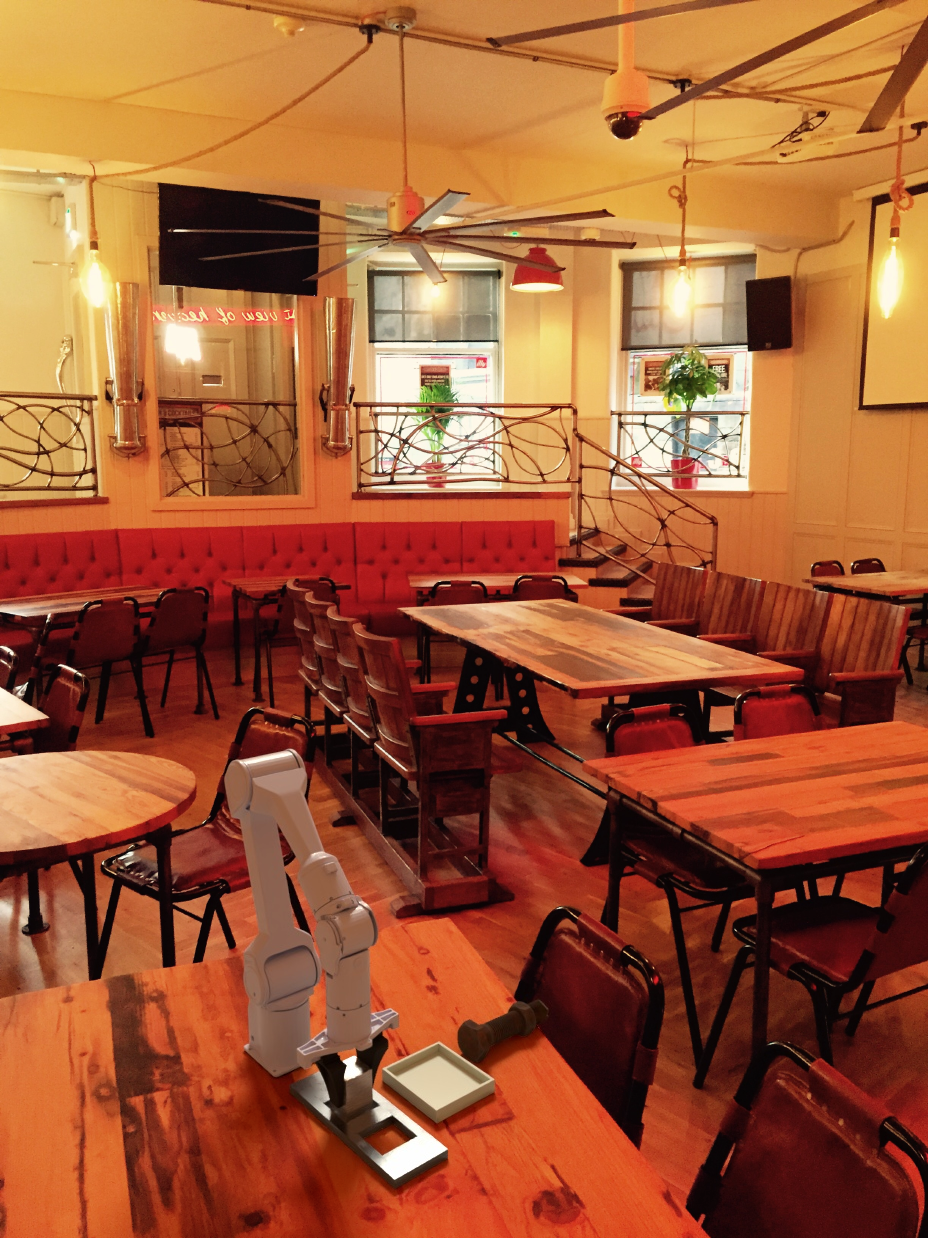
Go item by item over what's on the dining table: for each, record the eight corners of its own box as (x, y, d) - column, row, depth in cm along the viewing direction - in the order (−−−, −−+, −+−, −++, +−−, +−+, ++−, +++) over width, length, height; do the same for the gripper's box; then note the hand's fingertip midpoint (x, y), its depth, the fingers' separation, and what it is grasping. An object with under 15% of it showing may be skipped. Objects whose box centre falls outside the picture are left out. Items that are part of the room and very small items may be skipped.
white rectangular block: (330, 1110, 128) (329, 1067, 127) (355, 1097, 130) (354, 1055, 129) (347, 1125, 125) (345, 1081, 124) (373, 1112, 127) (371, 1069, 126)
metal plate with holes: (289, 1093, 132) (289, 1085, 132) (340, 1070, 137) (339, 1062, 137) (394, 1189, 114) (394, 1180, 113) (448, 1158, 119) (448, 1149, 118)
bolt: (545, 1035, 148) (471, 1071, 139) (526, 1008, 151) (451, 1041, 142) (560, 1011, 146) (485, 1046, 136) (540, 984, 149) (465, 1016, 139)
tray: (382, 1081, 134) (382, 1068, 134) (439, 1053, 141) (438, 1041, 140) (436, 1123, 125) (436, 1110, 125) (494, 1092, 131) (494, 1079, 131)
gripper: (316, 1032, 118) (319, 1136, 119) (412, 991, 127) (414, 1088, 129) (286, 1009, 123) (290, 1108, 125) (380, 971, 132) (383, 1064, 134)
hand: (351, 1096), depth 127 cm, fingers closed on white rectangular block, 4 cm apart
